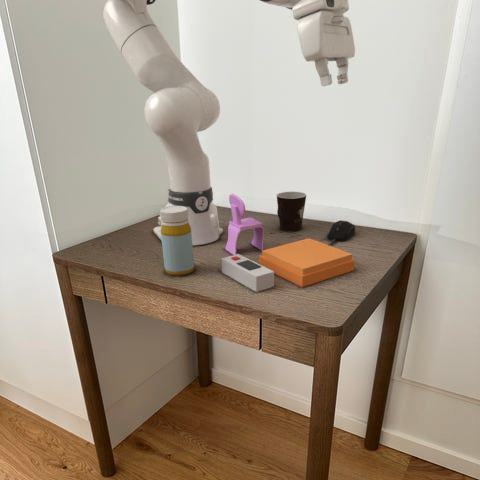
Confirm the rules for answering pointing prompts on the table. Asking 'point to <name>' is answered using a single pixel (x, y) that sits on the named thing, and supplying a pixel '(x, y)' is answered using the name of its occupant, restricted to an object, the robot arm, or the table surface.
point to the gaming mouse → (341, 231)
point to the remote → (248, 272)
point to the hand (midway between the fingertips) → (335, 84)
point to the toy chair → (242, 225)
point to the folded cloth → (307, 261)
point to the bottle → (176, 241)
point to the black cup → (291, 210)
